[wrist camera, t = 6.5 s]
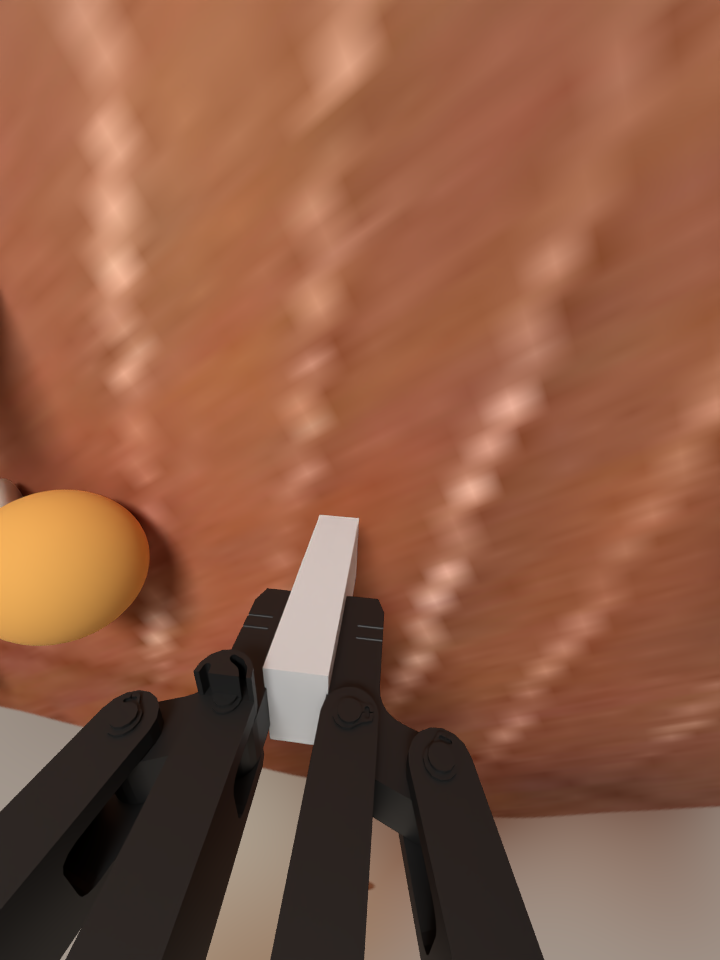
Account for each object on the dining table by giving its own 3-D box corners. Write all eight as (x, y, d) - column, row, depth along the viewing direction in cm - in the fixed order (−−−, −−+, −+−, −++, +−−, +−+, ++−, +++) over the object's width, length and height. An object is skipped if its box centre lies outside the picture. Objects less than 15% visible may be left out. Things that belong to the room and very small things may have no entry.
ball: (-150, 606, 10) (85, 558, 11) (-35, 474, 15) (127, 448, 16) (-6, 692, 14) (160, 651, 15) (51, 568, 19) (177, 541, 20)
